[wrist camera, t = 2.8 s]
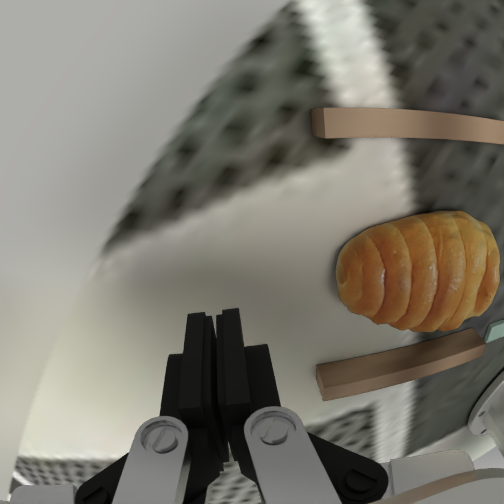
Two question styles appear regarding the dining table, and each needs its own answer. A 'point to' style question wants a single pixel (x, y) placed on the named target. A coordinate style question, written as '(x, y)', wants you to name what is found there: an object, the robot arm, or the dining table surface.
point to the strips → (494, 331)
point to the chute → (429, 352)
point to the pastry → (420, 271)
